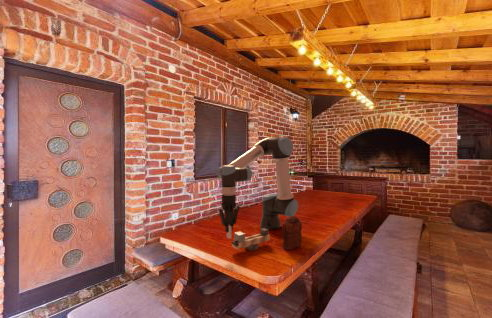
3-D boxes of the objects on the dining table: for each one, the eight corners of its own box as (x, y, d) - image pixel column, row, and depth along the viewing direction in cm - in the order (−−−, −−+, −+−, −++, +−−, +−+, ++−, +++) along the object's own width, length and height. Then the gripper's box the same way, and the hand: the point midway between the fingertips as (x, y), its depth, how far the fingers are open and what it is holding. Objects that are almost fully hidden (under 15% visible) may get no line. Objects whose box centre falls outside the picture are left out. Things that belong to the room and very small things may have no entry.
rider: (239, 244, 137) (238, 235, 137) (234, 241, 142) (234, 232, 141) (245, 243, 140) (245, 233, 139) (240, 240, 144) (240, 231, 143)
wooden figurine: (295, 243, 152) (295, 213, 151) (302, 246, 147) (302, 216, 146) (280, 247, 146) (280, 216, 145) (287, 251, 141) (287, 219, 140)
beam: (237, 255, 136) (237, 238, 136) (231, 251, 141) (231, 235, 141) (270, 245, 149) (270, 230, 149) (264, 242, 154) (263, 227, 154)
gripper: (221, 196, 129) (221, 242, 130) (242, 194, 136) (242, 237, 137) (214, 194, 135) (215, 238, 136) (235, 192, 142) (235, 233, 143)
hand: (229, 237), depth 137 cm, fingers closed
